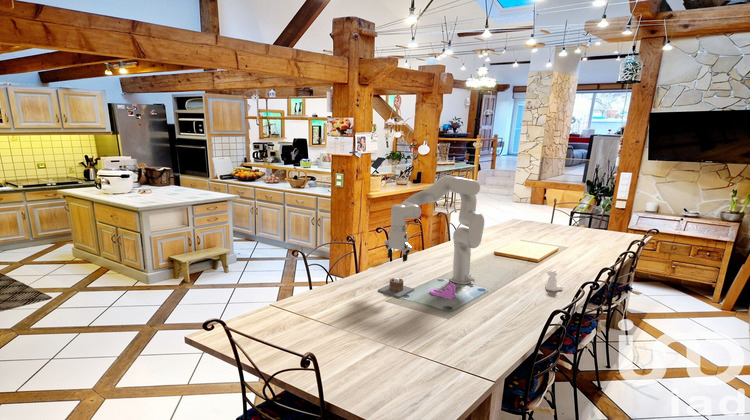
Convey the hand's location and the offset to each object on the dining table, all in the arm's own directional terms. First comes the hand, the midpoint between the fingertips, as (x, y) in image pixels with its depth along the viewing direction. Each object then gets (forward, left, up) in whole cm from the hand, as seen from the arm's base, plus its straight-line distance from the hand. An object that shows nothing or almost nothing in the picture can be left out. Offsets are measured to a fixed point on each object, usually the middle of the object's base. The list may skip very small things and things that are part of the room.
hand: (397, 259), depth 217 cm
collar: (0, 0, -17) cm, 17 cm away
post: (0, 0, -18) cm, 18 cm away
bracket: (-21, -12, -18) cm, 30 cm away
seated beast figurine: (-64, -60, -18) cm, 89 cm away
